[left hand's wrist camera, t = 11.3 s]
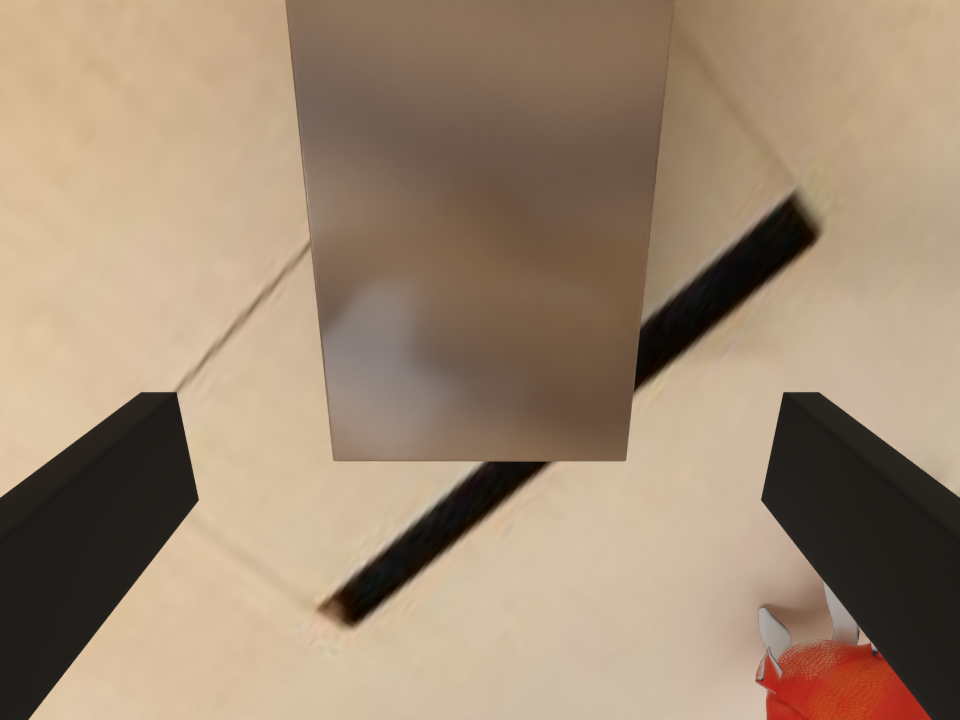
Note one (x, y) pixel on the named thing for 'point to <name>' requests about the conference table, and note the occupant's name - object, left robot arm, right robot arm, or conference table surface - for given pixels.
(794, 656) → the fish
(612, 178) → the cabinet
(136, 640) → the conference table surface
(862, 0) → the conference table surface
